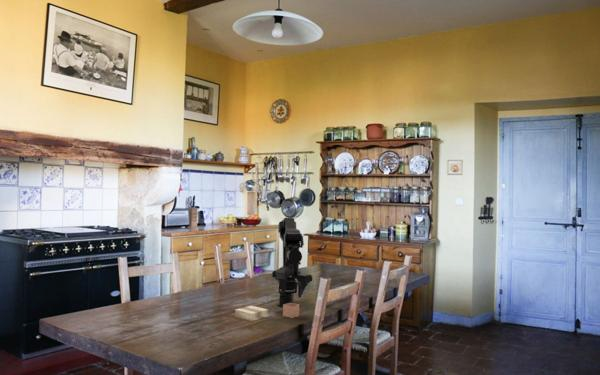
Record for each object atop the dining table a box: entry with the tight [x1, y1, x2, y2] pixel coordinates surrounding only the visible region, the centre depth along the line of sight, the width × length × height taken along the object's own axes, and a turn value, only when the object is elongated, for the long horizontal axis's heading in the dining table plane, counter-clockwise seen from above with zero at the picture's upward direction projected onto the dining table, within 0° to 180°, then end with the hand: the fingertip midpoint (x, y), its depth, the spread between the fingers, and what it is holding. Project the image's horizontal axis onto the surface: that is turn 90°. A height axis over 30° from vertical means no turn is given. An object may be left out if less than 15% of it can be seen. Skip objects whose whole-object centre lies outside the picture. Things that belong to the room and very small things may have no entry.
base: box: [234, 305, 269, 322], centre depth 206 cm, size 10×10×3 cm
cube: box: [282, 302, 300, 319], centre depth 209 cm, size 5×5×5 cm
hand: (291, 295), depth 209 cm, fingers open, 9 cm apart
